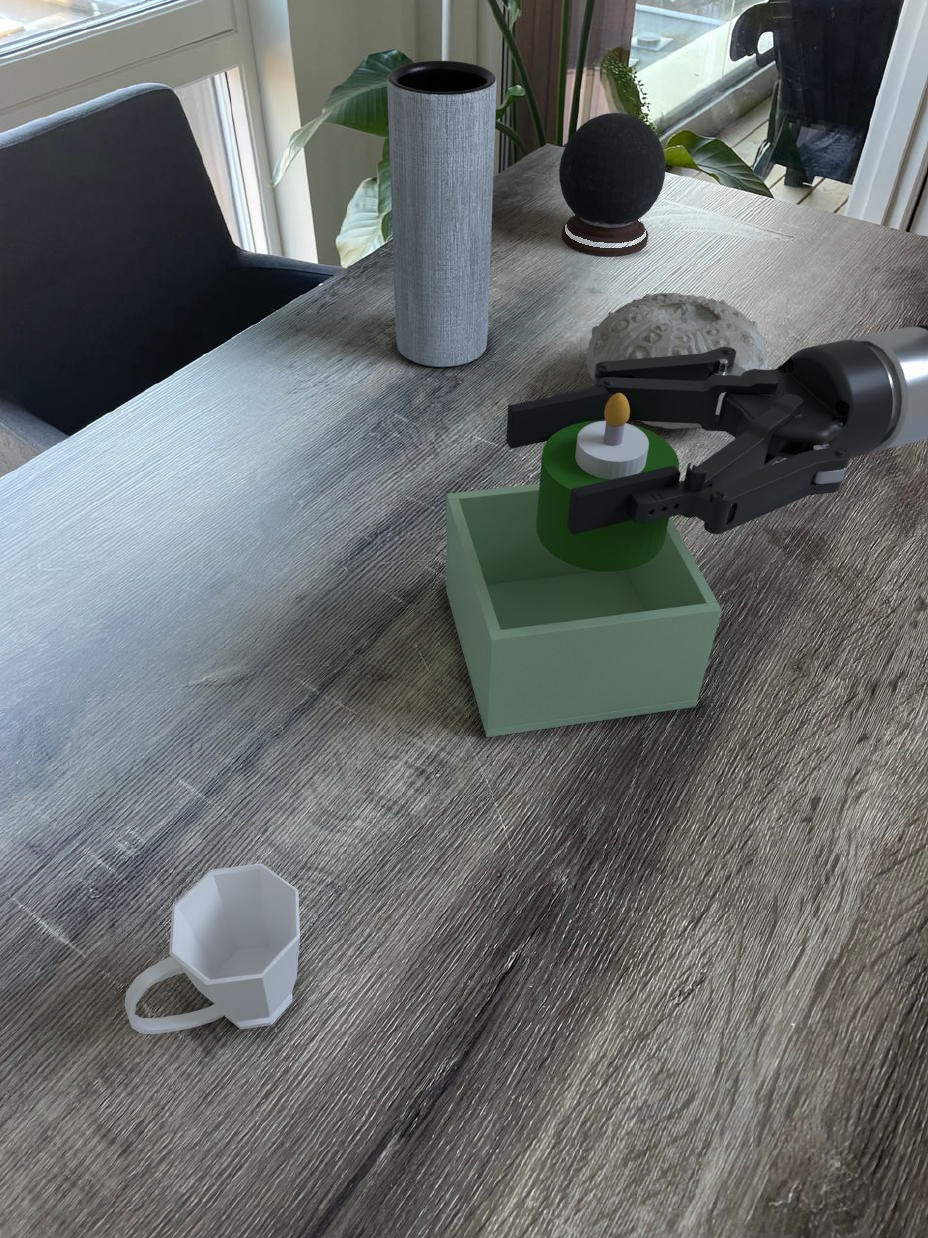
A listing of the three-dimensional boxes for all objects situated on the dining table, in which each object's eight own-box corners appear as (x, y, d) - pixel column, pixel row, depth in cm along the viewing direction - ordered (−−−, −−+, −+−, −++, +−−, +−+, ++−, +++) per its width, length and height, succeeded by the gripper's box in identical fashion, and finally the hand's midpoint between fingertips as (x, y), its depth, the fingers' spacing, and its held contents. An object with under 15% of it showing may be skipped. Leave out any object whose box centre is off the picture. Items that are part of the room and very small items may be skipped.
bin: (695, 707, 73) (722, 609, 66) (486, 737, 70) (491, 640, 63) (629, 567, 84) (645, 471, 77) (446, 590, 81) (446, 493, 74)
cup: (338, 1013, 56) (327, 942, 50) (166, 1109, 52) (132, 1044, 47) (287, 915, 60) (271, 840, 55) (124, 997, 56) (89, 925, 51)
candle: (567, 476, 68) (581, 344, 61) (682, 513, 66) (711, 378, 59) (514, 545, 63) (523, 408, 56) (638, 588, 60) (663, 450, 53)
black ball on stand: (603, 209, 137) (616, 90, 127) (676, 241, 130) (696, 118, 120) (533, 234, 131) (540, 111, 120) (605, 269, 124) (620, 142, 113)
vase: (468, 317, 114) (473, 55, 96) (500, 359, 108) (513, 86, 89) (384, 331, 112) (373, 64, 93) (413, 375, 105) (406, 97, 86)
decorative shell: (562, 364, 107) (570, 274, 100) (717, 349, 110) (736, 261, 103) (613, 459, 95) (627, 365, 88) (787, 439, 98) (814, 347, 91)
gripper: (947, 539, 61) (613, 631, 54) (755, 369, 75) (472, 427, 68) (995, 434, 55) (631, 523, 49) (779, 272, 69) (474, 326, 63)
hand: (539, 467), depth 59 cm, fingers closed on candle, 8 cm apart
